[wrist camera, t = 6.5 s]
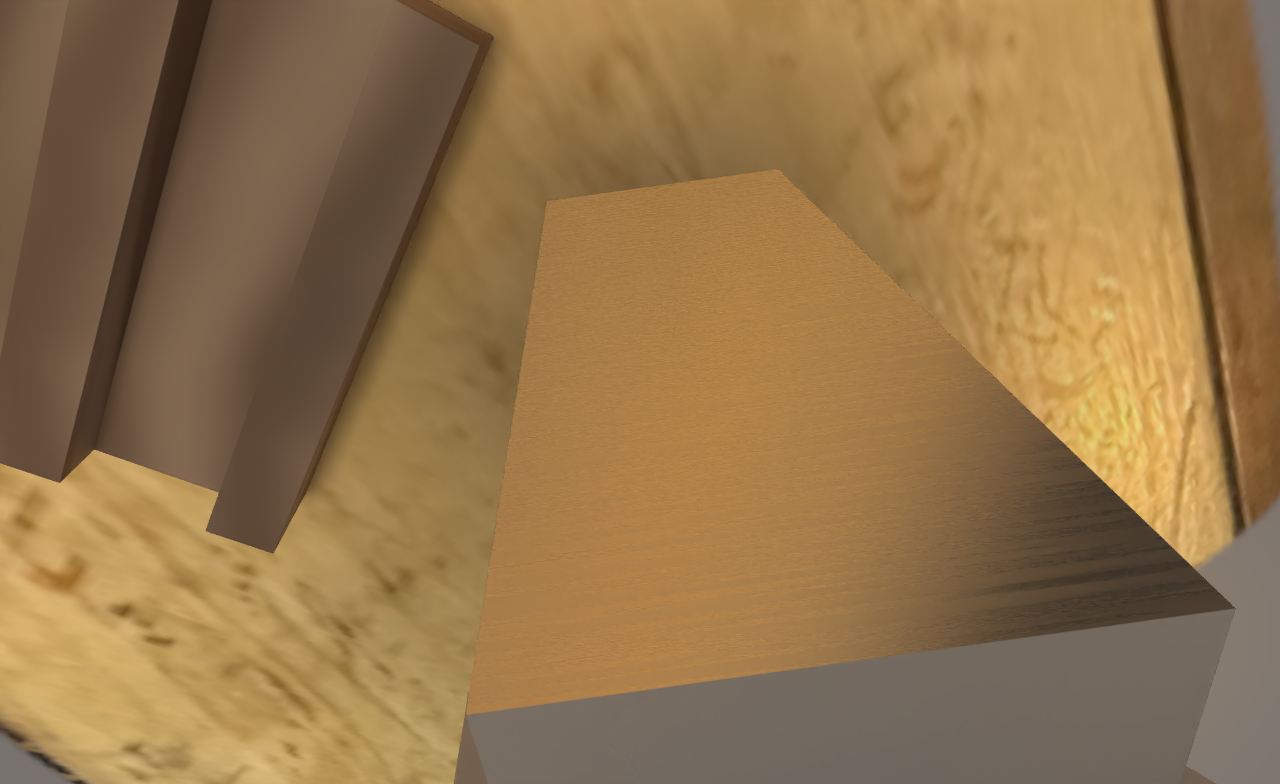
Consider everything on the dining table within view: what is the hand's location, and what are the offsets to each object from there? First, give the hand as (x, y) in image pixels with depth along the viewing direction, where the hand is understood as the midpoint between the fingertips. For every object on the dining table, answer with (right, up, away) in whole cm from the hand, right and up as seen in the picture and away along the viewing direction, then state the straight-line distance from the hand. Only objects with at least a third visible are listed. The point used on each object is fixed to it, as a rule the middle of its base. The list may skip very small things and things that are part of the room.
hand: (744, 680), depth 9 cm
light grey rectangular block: (0, +2, +3) cm, 4 cm away
